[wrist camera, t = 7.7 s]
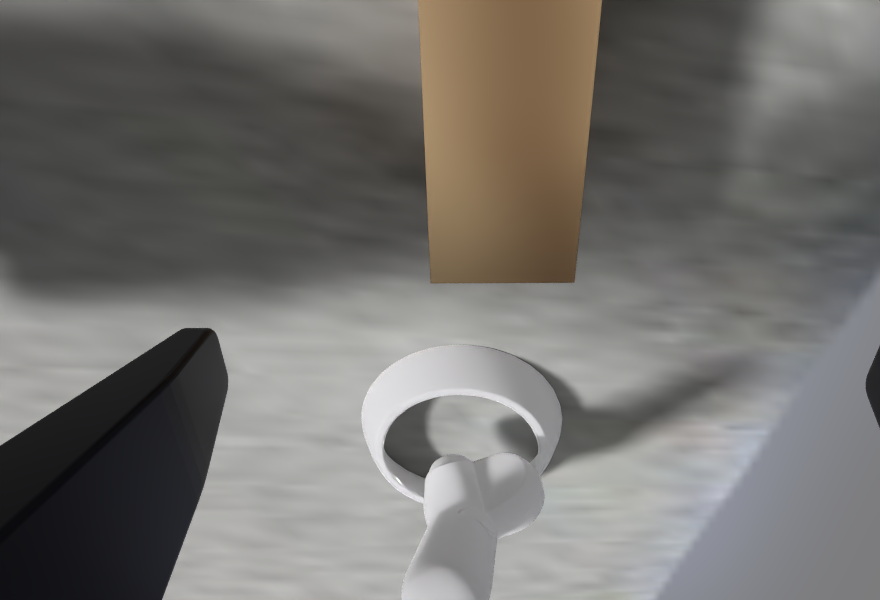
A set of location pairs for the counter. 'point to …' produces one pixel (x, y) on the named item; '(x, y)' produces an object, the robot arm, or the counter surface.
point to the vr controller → (464, 465)
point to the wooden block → (506, 135)
